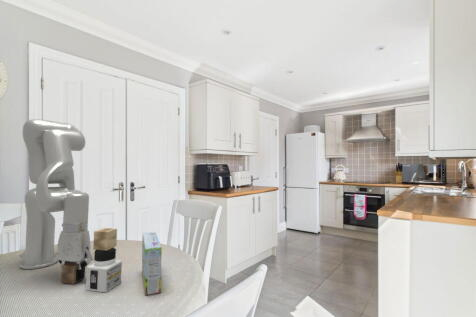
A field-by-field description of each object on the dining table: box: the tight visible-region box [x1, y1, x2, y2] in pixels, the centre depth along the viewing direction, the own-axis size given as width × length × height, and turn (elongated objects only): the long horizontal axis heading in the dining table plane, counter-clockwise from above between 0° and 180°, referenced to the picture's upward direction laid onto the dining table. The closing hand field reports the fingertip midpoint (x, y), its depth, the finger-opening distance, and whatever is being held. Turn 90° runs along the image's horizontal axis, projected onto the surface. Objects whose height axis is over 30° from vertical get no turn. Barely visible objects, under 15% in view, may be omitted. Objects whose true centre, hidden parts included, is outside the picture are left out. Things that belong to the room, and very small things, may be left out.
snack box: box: [141, 231, 163, 296], centre depth 91 cm, size 21×6×15 cm, turn 23°
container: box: [85, 247, 123, 293], centre depth 87 cm, size 8×8×13 cm
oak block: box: [93, 227, 118, 251], centre depth 87 cm, size 5×5×6 cm
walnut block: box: [60, 261, 86, 285], centre depth 90 cm, size 5×5×6 cm
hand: (73, 278), depth 90 cm, fingers closed on walnut block, 5 cm apart
